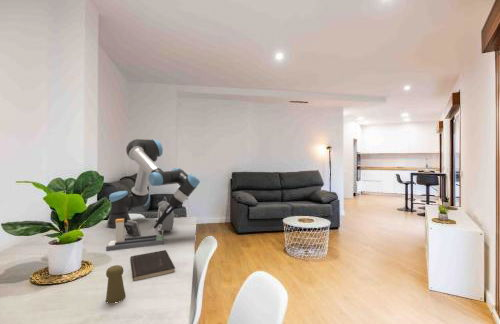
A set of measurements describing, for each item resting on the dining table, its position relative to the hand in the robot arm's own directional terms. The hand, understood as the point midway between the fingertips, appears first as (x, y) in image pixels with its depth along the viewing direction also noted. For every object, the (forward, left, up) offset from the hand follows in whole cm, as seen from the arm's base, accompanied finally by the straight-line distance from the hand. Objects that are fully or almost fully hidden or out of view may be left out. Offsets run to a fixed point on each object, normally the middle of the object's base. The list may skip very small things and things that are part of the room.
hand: (151, 232), depth 144 cm
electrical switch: (-17, -11, -6) cm, 22 cm away
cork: (+57, -8, -6) cm, 58 cm away
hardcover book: (+33, +2, -7) cm, 33 cm away
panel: (+1, -7, -6) cm, 9 cm away
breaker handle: (+1, -15, -3) cm, 16 cm away
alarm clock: (-18, +8, -6) cm, 21 cm away
